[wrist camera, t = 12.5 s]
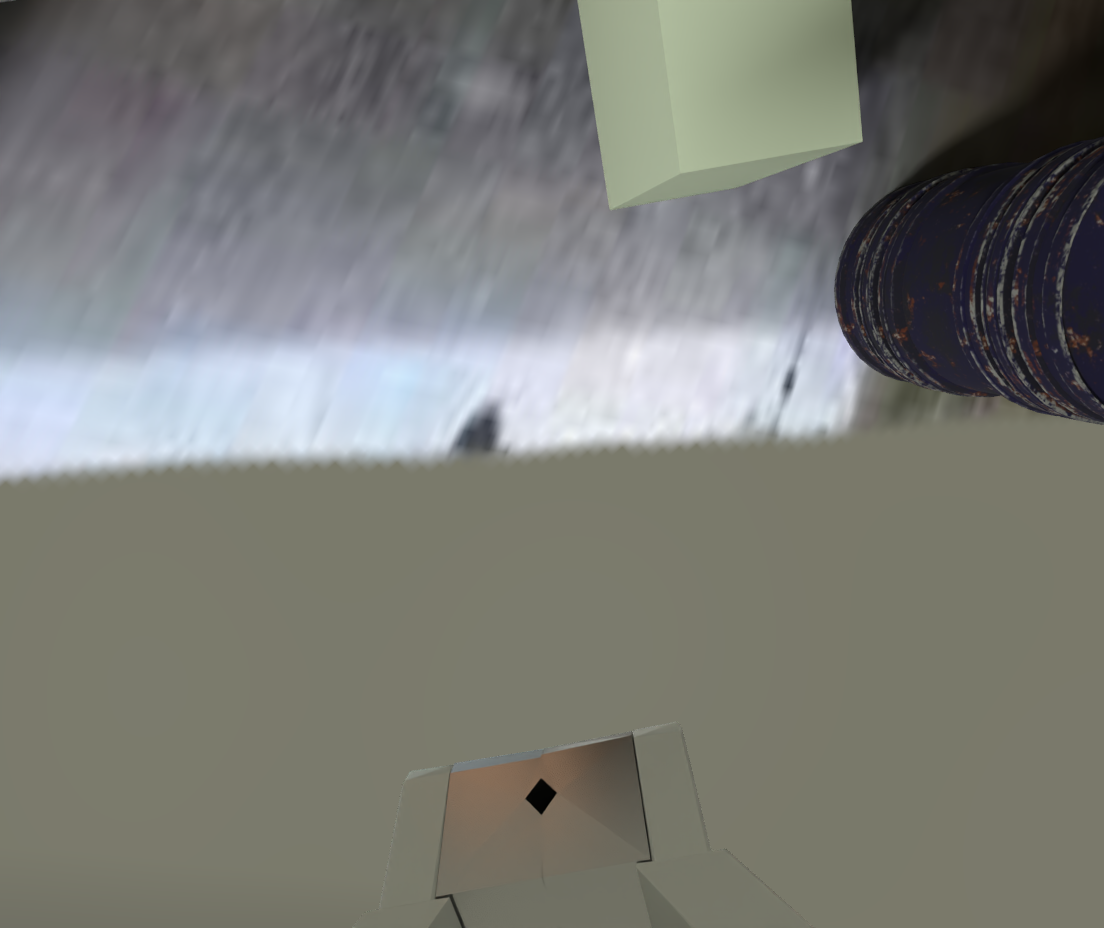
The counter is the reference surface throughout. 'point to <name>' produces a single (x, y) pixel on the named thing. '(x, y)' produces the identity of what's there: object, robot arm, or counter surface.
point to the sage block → (717, 91)
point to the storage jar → (987, 283)
